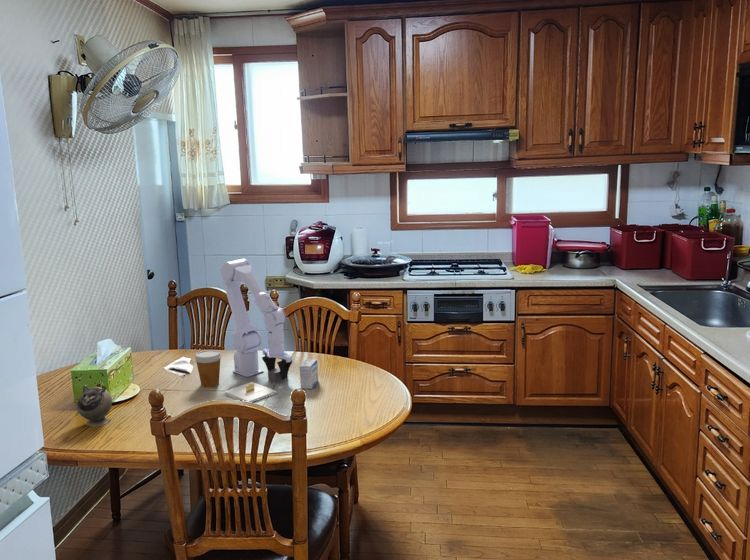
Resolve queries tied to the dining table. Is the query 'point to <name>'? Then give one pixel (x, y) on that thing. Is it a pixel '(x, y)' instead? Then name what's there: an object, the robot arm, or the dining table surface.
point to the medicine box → (309, 374)
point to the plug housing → (275, 375)
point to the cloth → (180, 366)
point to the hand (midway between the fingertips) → (278, 376)
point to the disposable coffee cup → (208, 367)
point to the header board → (250, 392)
